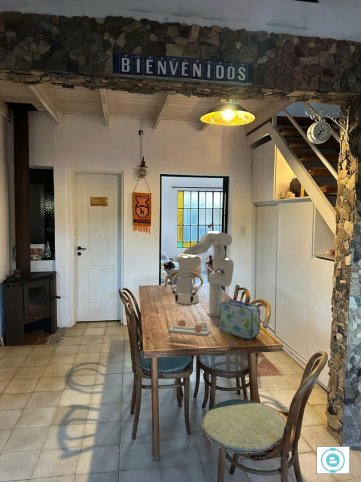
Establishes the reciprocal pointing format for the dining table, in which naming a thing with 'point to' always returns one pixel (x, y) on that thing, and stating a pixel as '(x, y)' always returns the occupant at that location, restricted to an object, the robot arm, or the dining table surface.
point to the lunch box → (239, 319)
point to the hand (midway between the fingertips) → (184, 301)
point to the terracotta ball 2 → (198, 328)
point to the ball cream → (203, 324)
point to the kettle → (187, 297)
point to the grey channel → (188, 330)
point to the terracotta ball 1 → (181, 322)
